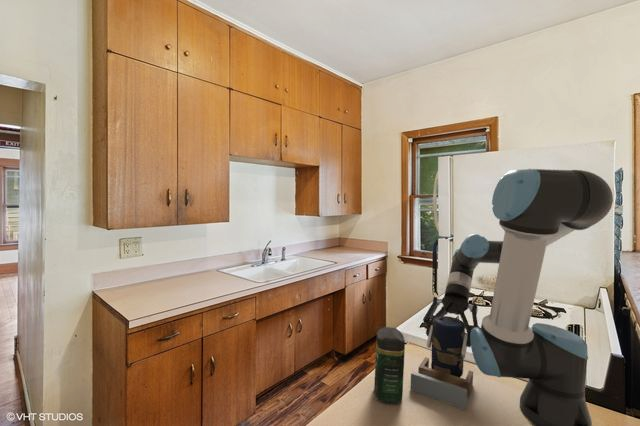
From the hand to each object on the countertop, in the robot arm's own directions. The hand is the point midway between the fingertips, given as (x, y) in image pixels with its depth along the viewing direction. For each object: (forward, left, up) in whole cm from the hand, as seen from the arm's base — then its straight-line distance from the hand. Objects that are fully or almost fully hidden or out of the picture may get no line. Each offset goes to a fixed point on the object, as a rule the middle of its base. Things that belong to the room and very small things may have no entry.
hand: (445, 350), depth 97 cm
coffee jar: (+12, +16, -10) cm, 22 cm away
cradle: (0, -1, -10) cm, 10 cm away
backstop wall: (0, +9, -10) cm, 14 cm away
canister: (0, -3, -9) cm, 9 cm away
